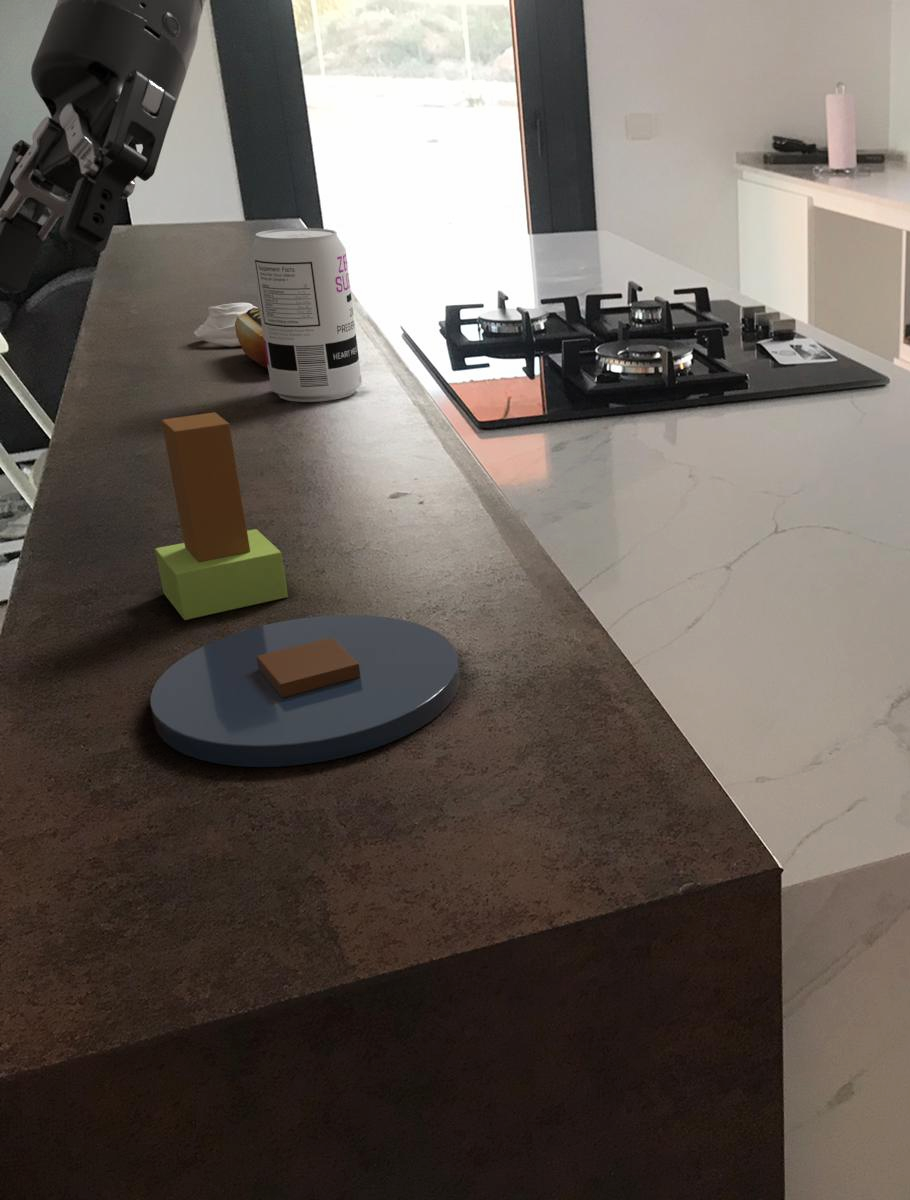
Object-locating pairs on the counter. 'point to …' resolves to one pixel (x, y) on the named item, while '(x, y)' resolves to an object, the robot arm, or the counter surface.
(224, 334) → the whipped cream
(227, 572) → the sponge brush
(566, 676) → the counter surface
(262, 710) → the plate
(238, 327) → the golden brown half oval
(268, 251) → the supplement can
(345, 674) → the food crust
